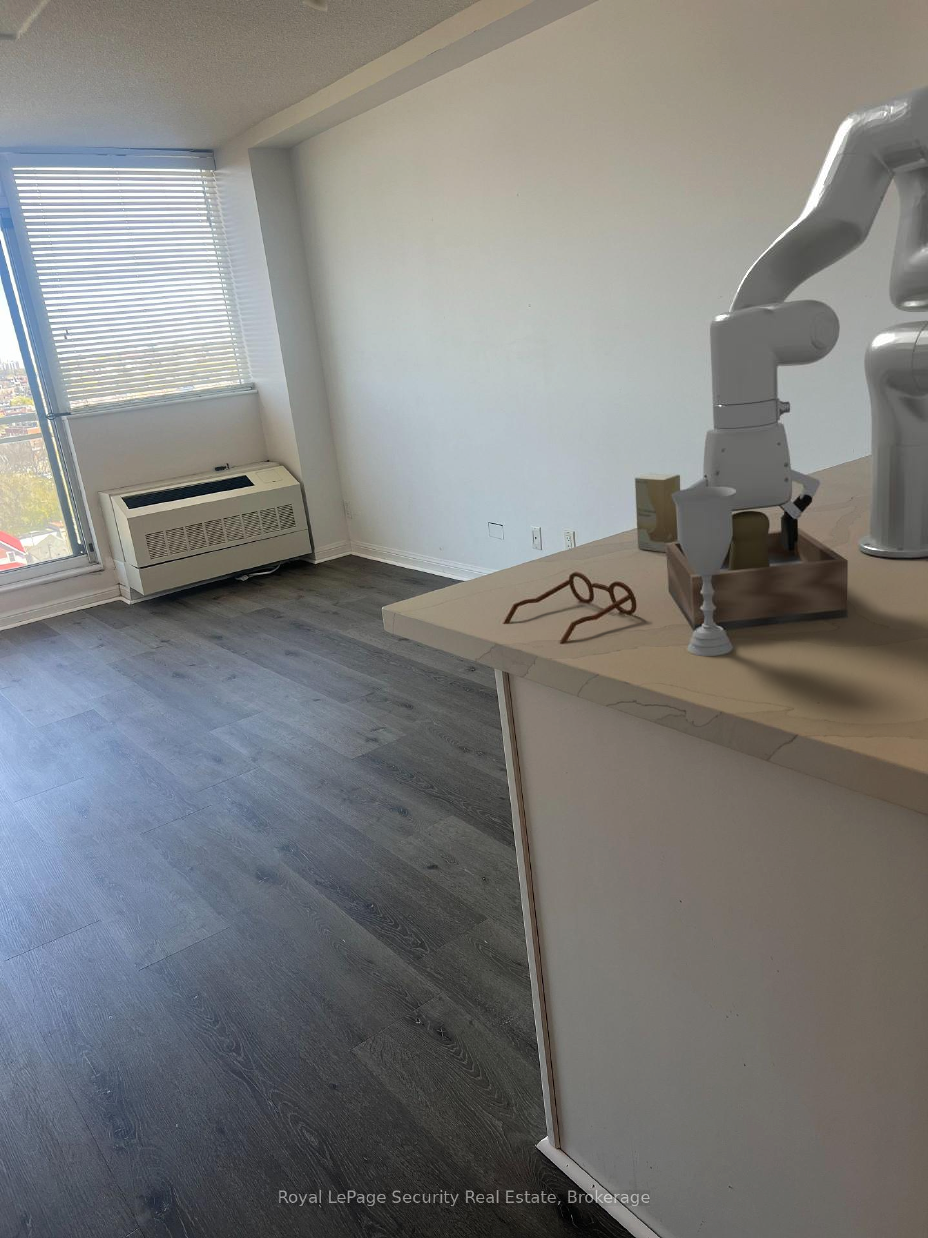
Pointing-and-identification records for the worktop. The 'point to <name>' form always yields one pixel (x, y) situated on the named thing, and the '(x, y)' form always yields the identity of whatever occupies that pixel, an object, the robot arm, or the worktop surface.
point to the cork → (749, 541)
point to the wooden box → (765, 586)
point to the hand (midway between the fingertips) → (749, 552)
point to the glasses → (591, 596)
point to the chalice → (706, 553)
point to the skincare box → (656, 510)
